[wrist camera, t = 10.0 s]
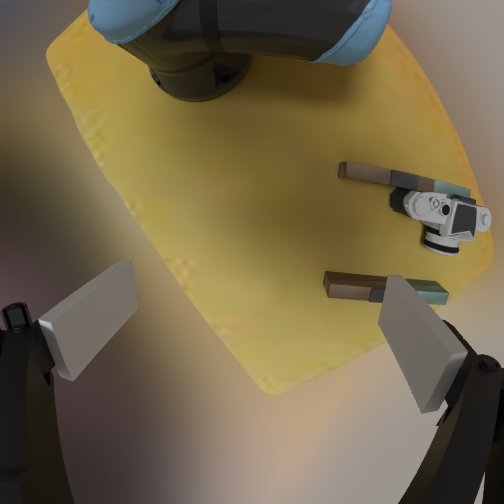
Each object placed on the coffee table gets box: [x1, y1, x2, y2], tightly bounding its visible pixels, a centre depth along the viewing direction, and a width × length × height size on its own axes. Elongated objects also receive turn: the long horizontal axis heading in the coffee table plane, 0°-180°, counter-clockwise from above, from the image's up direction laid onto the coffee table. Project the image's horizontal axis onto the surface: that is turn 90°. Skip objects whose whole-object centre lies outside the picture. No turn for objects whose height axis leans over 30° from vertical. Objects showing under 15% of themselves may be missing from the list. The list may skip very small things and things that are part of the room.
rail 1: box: [338, 162, 471, 199], centre depth 34 cm, size 2×20×5 cm, turn 85°
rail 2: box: [323, 271, 449, 305], centre depth 38 cm, size 2×20×5 cm, turn 86°
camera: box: [388, 187, 491, 256], centre depth 33 cm, size 16×9×10 cm, turn 86°
